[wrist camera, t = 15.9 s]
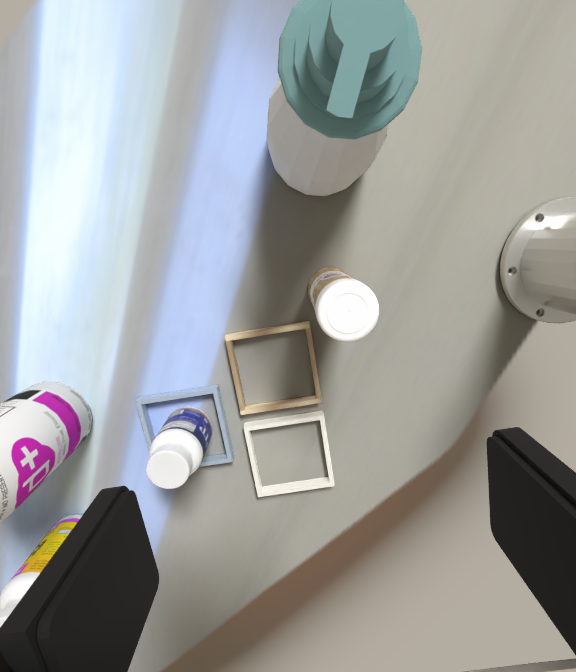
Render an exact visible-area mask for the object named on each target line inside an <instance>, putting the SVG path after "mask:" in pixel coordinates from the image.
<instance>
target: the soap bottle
mask: <svg viewBox="0 0 576 672" xmlns="http://www.w3.org/2000/svg"><path fill="white" fill-rule="evenodd" d="M421 54H422V46H421V42H420V37H419V33H418V28H417V23H416V19H415V17H414V15H413V14H412V12H411V11H410V9H409V8H408V6H407V5H406V3H405V2H404V0H300V1H299V2H298V3H297V4H296V5H295V6H294V7H293V9H292V11H291V13H290V16H289V18H288V20H287V22H286V25H285V27H284V29H283V32H282V34H281V36H280V41H279V59H278V74H279V79H278V81H277V83H276V86H275V88H274V90H273V93H272V95H271V97H270V99H269V109H268V125H267V144H268V149H269V152H270V155H271V159H272V162H273V165H274V168H275V170H276V171H277V172H278V174H279V175H280V176H281V177H282V179H283V180H284V181H285V182H286V183H287V185H288V186H290V187H292V188H294V189H296V190H298V191H300V192H302V193H303V194H305V195H315V196H328V195H331V194H334V193H336V192H339V191H342V190H345V189H346V188H347V187H348V186H350V185H351V184H352V183H353V182H354V181H355V180H356V179H357V178H359V177H360V176H361V175H362V174H363V173H364V172H365V171H366V170H367V169H368V168H369V167H370V165H371V164H372V162H373V161H374V160H375V158H376V156H377V154H378V152H379V150H380V148H381V146H382V144H383V142H384V140H385V138H386V136H387V129H388V124H389V123H390V122H391V121H392V120H393V119H394V118H395V117H396V116H398V115H399V114H400V113H401V112H402V111H403V110H404V108H405V106H406V104H407V102H408V100H409V98H410V96H411V94H412V92H413V90H414V88H415V87H416V85H417V83H418V76H419V69H420V61H421Z"/></svg>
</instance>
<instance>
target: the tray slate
mask: <svg viewBox="0 0 576 672" xmlns="http://www.w3.org/2000/svg"><path fill="white" fill-rule="evenodd" d="M212 393H213V395H214V400H215V404H216V409H217V413H218V418H219V422H220V427H221V431H222V436H223V440H224V445H225V449H226V454H219V455H213V456H206V457H203V459H202V462H201V464H200V466H199V467H202V466H209V465H215V464H222V463H229V462H233V459H234V454H233V449H232V444H231V440H230V435H229V431H228V426H227V421H226V417H225V412H224V408H223V403H222V398H221V394H220V389H219V385H212V386H205V387H199V388H192V389H186V390H180V391H173V392H167V393H160V394H154V395H148V396H141V397H139V398H138V399H137V400H136V405H137V409H138V412H139V416H140V420H141V423H142V427H143V431H144V434H145V438H146V442H147V445H148V449H149V451H150V447H151V444H152V442H153V440H154V439H155V436H154V433H153V429H152V425H151V421H150V418H149V414H148V410H147V406H146V404H148V403H155V402H161V401H167V400H174V399H180V398H187V397H193V396H200V395H206V394H212Z"/></svg>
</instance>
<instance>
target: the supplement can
mask: <svg viewBox="0 0 576 672" xmlns="http://www.w3.org/2000/svg"><path fill="white" fill-rule="evenodd" d="M91 423H92V416H91V412H90V408H89V405H88V404H87V403H86V401H85V400H84V398H83V397H82V395H80V394H79V393H78V392H76V391H75V390H74V389H72V388H71V387H69V386H66V385H64V384H61V383H58V382H42V383H39V384H36V385H32V386H31V387H29V388H27V389H25V390H24V391H22V392H20V393H18V394H17V395H15V396H13V397H12V398H10V399H8V400H6V401H5V402H3V403H1V404H0V522H2V521H3V520H4V519H6V518H7V517H8V516H9V515H10V514H11V513H12V512H13V511H14V510H15V509H16V508H17V507H18V506H19V505H20V504H21V503H22V502H23V501H24V500H25V499H26V498H27V497H28V496H29V495H30V494H31V493H32V492H33V491H34V490H35V489H36V488H37V487H38V486H39V485H40V484H41V483H42V482H43V481H44V480H45V479H46V478H47V477H48V476H49V475H50V474H51V473H52V472H53V471H54V470H55V469H56V468H57V467H58V466H59V465H60V464H61V463H62V462H63V461H64V460H65V459H66V458H67V457H68V456H69V455H70V454H71V453H72V452H73V451H74V450H75V449H76V448H77V447H78V446H79V445H80V444H81V443H82V442H83V441H84V440H85V439H86V437H87V435H88V433H89V432H90V430H91Z"/></svg>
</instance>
